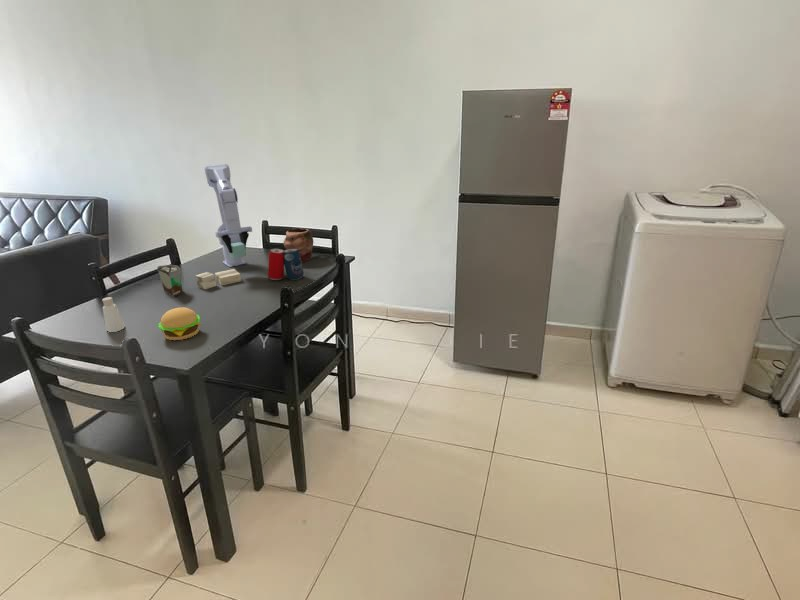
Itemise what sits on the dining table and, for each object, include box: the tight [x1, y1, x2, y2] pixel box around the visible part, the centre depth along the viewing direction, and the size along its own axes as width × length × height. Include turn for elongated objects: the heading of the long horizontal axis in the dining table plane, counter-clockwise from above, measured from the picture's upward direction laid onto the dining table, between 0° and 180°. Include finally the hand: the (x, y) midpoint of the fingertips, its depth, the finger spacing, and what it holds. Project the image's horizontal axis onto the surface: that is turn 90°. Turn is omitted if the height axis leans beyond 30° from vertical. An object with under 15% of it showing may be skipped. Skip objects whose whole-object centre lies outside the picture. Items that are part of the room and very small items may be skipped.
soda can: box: [283, 248, 304, 281], centre depth 187 cm, size 7×7×12 cm
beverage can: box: [267, 248, 285, 281], centre depth 186 cm, size 6×6×12 cm
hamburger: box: [158, 306, 202, 342], centre depth 142 cm, size 12×12×9 cm
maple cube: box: [195, 271, 217, 290], centre depth 182 cm, size 5×5×5 cm
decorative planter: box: [282, 228, 314, 263], centre depth 211 cm, size 20×12×14 cm, turn 164°
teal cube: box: [230, 242, 247, 258], centre depth 190 cm, size 5×5×5 cm
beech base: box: [214, 268, 242, 286], centre depth 188 cm, size 8×8×4 cm
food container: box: [157, 264, 184, 298], centre depth 176 cm, size 12×6×10 cm, turn 47°
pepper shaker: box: [101, 296, 126, 333], centre depth 145 cm, size 5×5×11 cm
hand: (237, 251), depth 190 cm, fingers closed on teal cube, 5 cm apart
